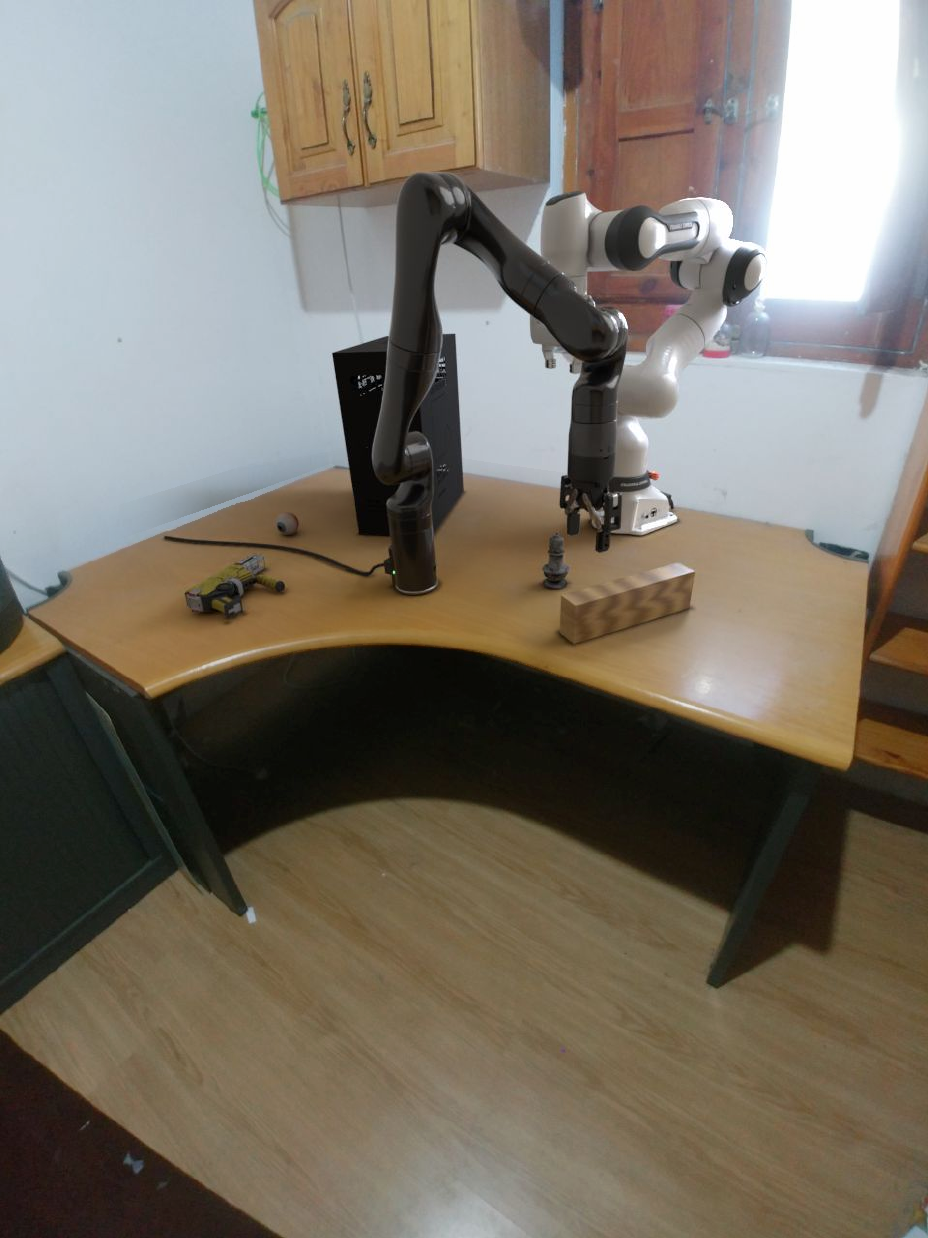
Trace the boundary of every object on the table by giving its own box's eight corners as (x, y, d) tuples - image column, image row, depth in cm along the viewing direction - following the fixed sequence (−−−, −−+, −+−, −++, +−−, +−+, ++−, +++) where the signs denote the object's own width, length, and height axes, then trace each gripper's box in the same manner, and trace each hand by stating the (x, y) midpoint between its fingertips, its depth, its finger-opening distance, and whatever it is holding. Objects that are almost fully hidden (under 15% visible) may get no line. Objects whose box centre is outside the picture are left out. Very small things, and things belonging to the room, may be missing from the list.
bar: (673, 598, 123) (678, 562, 119) (689, 608, 119) (695, 571, 115) (559, 632, 114) (560, 594, 110) (573, 644, 110) (575, 605, 106)
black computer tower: (431, 537, 158) (415, 350, 135) (358, 534, 162) (332, 352, 140) (463, 491, 189) (455, 333, 167) (402, 489, 194) (386, 335, 171)
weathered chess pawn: (568, 589, 128) (570, 537, 122) (540, 588, 130) (541, 536, 124) (569, 577, 133) (571, 526, 127) (542, 576, 134) (543, 525, 128)
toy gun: (306, 561, 141) (251, 550, 144) (240, 606, 120) (179, 591, 124) (307, 580, 143) (253, 568, 147) (243, 626, 123) (183, 611, 127)
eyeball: (273, 537, 164) (268, 516, 161) (287, 528, 169) (282, 508, 166) (291, 539, 161) (286, 518, 158) (305, 530, 166) (301, 510, 163)
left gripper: (548, 442, 100) (546, 534, 108) (599, 462, 89) (593, 562, 97) (585, 436, 103) (581, 525, 111) (640, 454, 92) (631, 552, 100)
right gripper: (609, 293, 109) (605, 374, 116) (550, 292, 126) (550, 363, 133) (579, 296, 107) (577, 378, 114) (524, 295, 124) (525, 367, 131)
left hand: (587, 542), depth 104 cm, fingers open, 8 cm apart
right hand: (562, 370), depth 123 cm, fingers open, 8 cm apart
